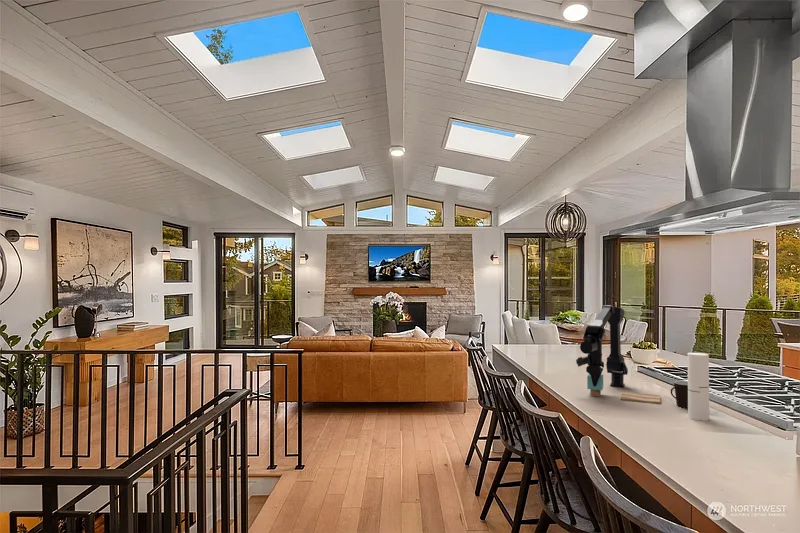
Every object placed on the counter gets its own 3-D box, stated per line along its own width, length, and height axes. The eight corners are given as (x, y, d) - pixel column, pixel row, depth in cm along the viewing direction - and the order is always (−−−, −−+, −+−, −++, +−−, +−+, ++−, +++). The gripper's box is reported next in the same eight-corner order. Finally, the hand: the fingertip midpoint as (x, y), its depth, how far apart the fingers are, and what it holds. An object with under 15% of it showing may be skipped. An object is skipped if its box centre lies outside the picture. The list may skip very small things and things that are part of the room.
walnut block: (591, 393, 242) (591, 385, 242) (600, 394, 240) (600, 385, 241) (590, 395, 239) (590, 386, 239) (599, 396, 237) (599, 387, 237)
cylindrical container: (712, 421, 196) (711, 355, 197) (691, 420, 198) (691, 355, 198) (705, 416, 203) (704, 352, 204) (685, 415, 205) (685, 352, 205)
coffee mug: (691, 404, 222) (691, 381, 222) (701, 409, 213) (700, 385, 213) (663, 403, 223) (663, 380, 223) (671, 408, 214) (671, 384, 214)
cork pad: (622, 393, 242) (622, 391, 242) (660, 397, 235) (660, 395, 235) (620, 400, 229) (620, 398, 229) (660, 404, 222) (660, 402, 222)
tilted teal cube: (588, 386, 244) (588, 373, 244) (603, 387, 241) (603, 374, 241) (587, 389, 238) (587, 376, 238) (602, 390, 235) (602, 377, 235)
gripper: (579, 347, 252) (579, 379, 252) (574, 353, 235) (574, 387, 235) (603, 349, 247) (604, 381, 247) (600, 354, 230) (600, 389, 230)
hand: (595, 385), depth 240 cm, fingers closed on tilted teal cube, 6 cm apart
